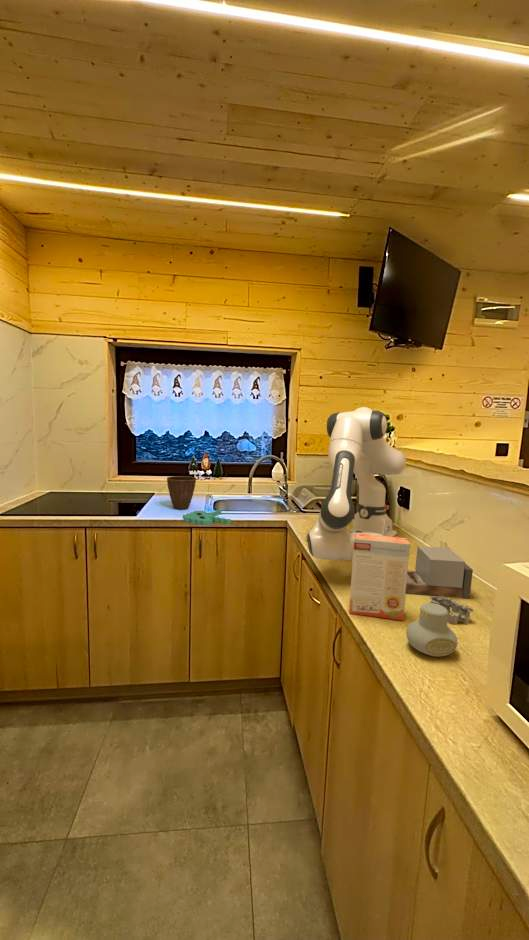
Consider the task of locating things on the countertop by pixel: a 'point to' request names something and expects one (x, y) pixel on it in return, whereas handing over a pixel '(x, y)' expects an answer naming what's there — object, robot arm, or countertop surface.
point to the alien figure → (205, 517)
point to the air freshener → (432, 631)
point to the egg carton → (453, 609)
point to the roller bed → (421, 588)
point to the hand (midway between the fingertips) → (404, 549)
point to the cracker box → (379, 576)
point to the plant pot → (181, 491)
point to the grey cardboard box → (439, 566)
